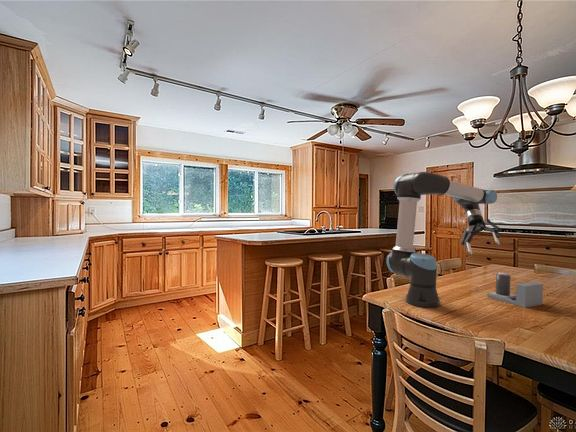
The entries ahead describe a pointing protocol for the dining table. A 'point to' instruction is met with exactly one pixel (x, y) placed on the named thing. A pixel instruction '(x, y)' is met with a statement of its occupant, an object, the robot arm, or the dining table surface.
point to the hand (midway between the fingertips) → (483, 248)
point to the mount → (525, 295)
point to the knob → (503, 286)
